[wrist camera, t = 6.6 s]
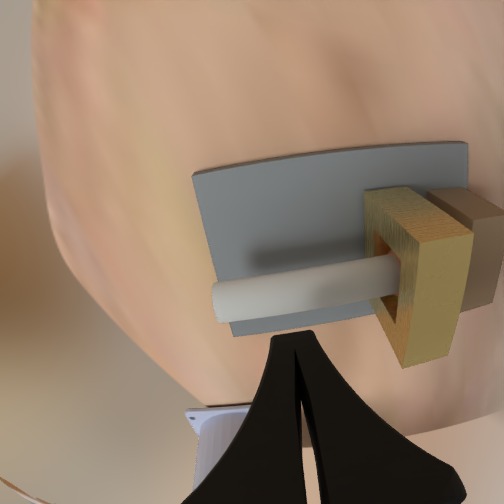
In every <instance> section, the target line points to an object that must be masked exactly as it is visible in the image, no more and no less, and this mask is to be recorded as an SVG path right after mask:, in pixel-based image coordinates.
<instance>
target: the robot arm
mask: <svg viewBox="0 0 504 504" xmlns="http://www.w3.org/2000/svg"><path fill="white" fill-rule="evenodd" d="M301 402H302V406H303V410H304V414H305V418H306V422H307V426H308V430H309V434H310V438H311V442H312V446H313V450H314V455H315V461H316V467H317V475H318V483H319V491H320V500H321V504H461V503H462V502H463V501H464V500H465V498H466V496H467V493H466V490H465V487H464V485H463V483H462V481H461V479H460V478H459V476H458V474H457V472H456V471H455V469H454V468H453V467H452V466H450V465H449V464H447V463H445V462H443V461H441V460H439V459H437V458H436V457H434V456H432V455H431V454H429V453H427V452H426V451H424V450H423V449H421V448H420V447H418V446H417V445H415V444H414V443H412V442H411V441H409V440H408V439H407V438H405V437H404V436H403V435H401V434H400V433H399V432H398V431H396V430H395V429H394V428H392V427H391V426H390V425H389V424H387V423H386V422H385V421H384V420H383V419H382V418H381V417H379V416H378V415H377V414H376V413H375V412H374V411H373V410H372V409H371V408H370V407H369V406H368V405H367V404H366V403H365V402H364V401H363V400H362V399H361V398H360V397H359V396H358V395H357V394H356V393H355V391H354V390H353V389H352V388H351V387H350V386H349V384H348V383H347V382H346V381H345V380H344V378H343V377H342V376H341V374H340V373H339V372H338V370H337V369H336V368H335V366H334V365H333V364H332V362H331V361H330V359H329V358H328V357H327V355H326V353H325V352H324V350H323V349H322V347H321V345H320V344H319V342H318V340H317V338H316V336H315V334H314V332H313V331H312V330H306V331H300V332H293V333H287V334H280V335H274V336H273V337H272V338H271V341H270V349H269V354H268V358H267V362H266V366H265V369H264V372H263V376H262V379H261V382H260V385H259V387H258V390H257V392H256V395H255V397H254V399H253V402H252V404H251V405H241V406H229V407H214V408H192V409H186V410H185V416H186V417H187V419H188V420H189V422H190V424H191V426H192V427H193V429H194V430H195V432H196V434H197V435H198V437H199V440H198V449H197V457H196V465H195V475H194V483H193V492H192V493H191V494H190V495H189V496H188V497H187V498H186V499H185V500H184V501H183V502H182V503H181V504H307V498H306V489H305V480H304V471H303V461H302V421H301Z"/></svg>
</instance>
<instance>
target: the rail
mask: <svg viewBox="0 0 504 504" xmlns="http://www.w3.org/2000/svg"><path fill="white" fill-rule="evenodd" d="M192 180H193V185H194V189H195V193H196V197H197V201H198V205H199V209H200V214H201V218H202V222H203V226H204V230H205V234H206V238H207V241H208V245H209V249H210V253H211V257H212V261H213V265H214V268H215V272H216V276H217V280H218V282H215V283H213V286H212V299H213V307H214V311H215V315H216V318H217V320H218V322H219V323H226V322H229V323H230V327H231V330H232V334H233V337H238V336H246V335H253V334H261V333H268V332H275V331H281V330H288V329H294V328H301V327H307V326H313V325H319V324H324V323H330V322H335V321H341V320H346V319H351V318H356V317H361V316H366V315H371V314H375V312H374V310H373V308H372V306H371V304H370V302H369V300H368V299H373V298H378V297H383V296H388V295H393V294H394V295H395V296H397V297H398V296H399V285H400V272H401V260H400V259H399V258H398V256H397V255H396V254H395V253H394V252H393V250H391V251H389V253H388V255H382V256H376V257H371V258H365V223H364V201H363V191H371V190H379V189H387V188H395V187H404V186H406V187H408V188H409V189H411V190H412V191H414V192H415V193H417V194H419V195H420V196H422V197H423V198H425V199H426V200H428V201H429V202H431V203H432V204H434V205H435V206H437V207H438V208H440V209H441V210H443V211H444V212H445V213H447V214H448V215H450V216H451V217H453V218H454V219H455V220H457V221H458V222H460V223H461V224H462V225H464V226H465V227H466V228H468V229H469V230H470V231H472V232H473V233H474V238H473V245H472V252H471V259H470V265H469V271H468V276H467V281H466V286H465V291H464V296H463V300H462V305H461V309H460V313H461V312H464V311H467V310H471V309H474V308H477V307H480V306H483V305H486V304H489V303H492V301H493V297H494V294H495V290H496V286H497V282H498V277H499V273H500V268H501V264H502V259H503V254H504V210H502V209H500V208H499V207H497V206H495V205H494V204H492V203H490V202H488V201H487V200H485V199H483V198H481V197H480V196H478V195H476V194H474V193H472V192H470V191H469V190H468V143H465V142H461V141H448V142H422V143H405V144H390V145H377V146H366V147H356V148H346V149H337V150H328V151H320V152H312V153H305V154H297V155H290V156H284V157H277V158H271V159H264V160H258V161H252V162H247V163H241V164H235V165H230V166H225V167H219V168H214V169H209V170H204V171H199V172H195V173H194V174H193V175H192Z"/></svg>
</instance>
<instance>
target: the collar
mask: <svg viewBox="0 0 504 504" xmlns="http://www.w3.org/2000/svg"><path fill="white" fill-rule="evenodd" d="M363 201H364V223H365V258H371V257H376V256H382V255H388V253H389V251H391V250H393V252H394V253H395V254H396V255H397V256H398V258H399V259H400V260H401V272H400V285H399V296H398V297H397V296H395V295H394V294H393V295H388V296H383V297H378V298H373V299H368V300H369V302H370V304H371V306H372V308H373V310H374V312H375V314H376V316H377V318H378V320H379V322H380V324H381V326H382V328H383V330H384V332H385V334H386V336H387V338H388V340H389V342H390V344H391V346H392V348H393V350H394V353H395V355H396V357H397V359H398V361H399V363H400V365H401V368H402V369H404V368H407V367H411V366H414V365H418V364H421V363H425V362H428V361H431V360H434V359H438V358H441V357H444V356H447V355H448V353H449V350H450V346H451V343H452V340H453V336H454V333H455V329H456V325H457V321H458V317H459V313H460V309H461V305H462V300H463V296H464V291H465V286H466V281H467V276H468V271H469V265H470V259H471V252H472V245H473V238H474V233H473V232H472V231H470V230H469V229H468V228H466V227H465V226H464V225H462V224H461V223H460V222H458V221H457V220H455V219H454V218H453V217H451V216H450V215H448V214H447V213H445V212H444V211H443V210H441V209H440V208H438V207H437V206H435V205H434V204H432V203H431V202H429V201H428V200H426V199H425V198H423V197H422V196H420V195H419V194H417V193H415V192H414V191H412V190H411V189H409V188H408V187H406V186H404V187H395V188H387V189H379V190H371V191H363Z"/></svg>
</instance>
